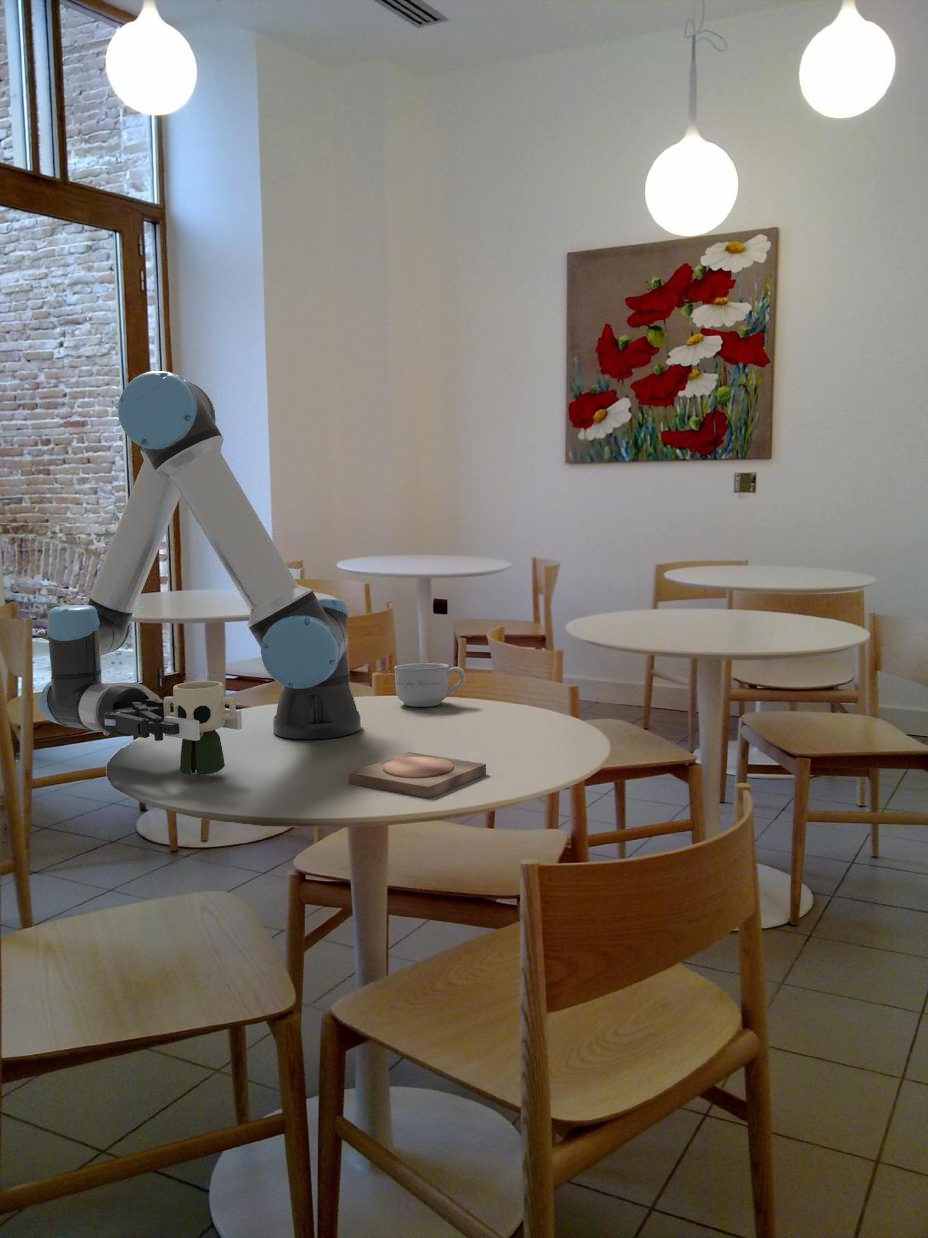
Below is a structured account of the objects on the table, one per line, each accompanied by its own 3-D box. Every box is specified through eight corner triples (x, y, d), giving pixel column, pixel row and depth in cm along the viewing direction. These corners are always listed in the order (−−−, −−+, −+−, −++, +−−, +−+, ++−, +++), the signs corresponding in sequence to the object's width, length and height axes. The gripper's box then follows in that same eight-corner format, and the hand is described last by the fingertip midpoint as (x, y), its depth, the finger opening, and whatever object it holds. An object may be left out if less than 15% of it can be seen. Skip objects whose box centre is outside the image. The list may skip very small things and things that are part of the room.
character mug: (156, 779, 143) (151, 689, 141) (177, 766, 150) (173, 680, 148) (229, 780, 141) (225, 689, 140) (247, 767, 148) (243, 680, 147)
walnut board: (409, 761, 153) (408, 749, 153) (486, 774, 145) (485, 761, 145) (348, 783, 142) (348, 770, 141) (429, 798, 134) (428, 784, 134)
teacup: (385, 708, 194) (384, 667, 193) (409, 698, 204) (408, 659, 203) (452, 713, 189) (451, 671, 188) (473, 702, 199) (472, 662, 198)
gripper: (170, 721, 164) (271, 737, 151) (60, 747, 147) (163, 767, 135) (167, 675, 163) (268, 687, 150) (57, 696, 147) (160, 712, 134)
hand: (218, 725), depth 142 cm, fingers closed on character mug, 7 cm apart
